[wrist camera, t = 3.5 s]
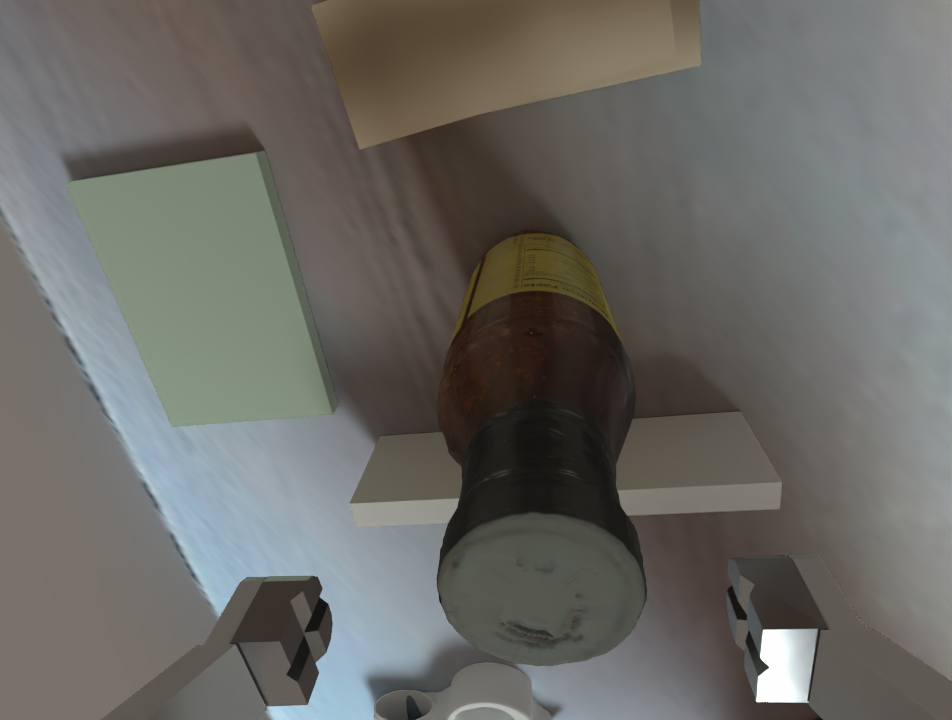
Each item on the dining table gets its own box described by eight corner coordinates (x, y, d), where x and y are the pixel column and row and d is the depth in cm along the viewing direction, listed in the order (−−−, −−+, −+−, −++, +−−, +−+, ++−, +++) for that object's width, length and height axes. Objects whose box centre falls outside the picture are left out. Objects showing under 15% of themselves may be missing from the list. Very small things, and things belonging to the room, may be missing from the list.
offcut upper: (663, 58, 22) (676, 56, 20) (376, 143, 25) (359, 149, 23) (643, -97, 20) (656, -118, 18) (333, 12, 23) (311, 5, 21)
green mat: (338, 405, 33) (332, 414, 32) (181, 417, 35) (171, 426, 34) (264, 150, 27) (255, 152, 26) (80, 179, 29) (65, 182, 28)
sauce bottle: (535, 365, 31) (522, 757, 13) (447, 287, 29) (298, 609, 12) (629, 280, 28) (774, 625, 10) (537, 190, 27) (525, 413, 9)
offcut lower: (687, 66, 24) (701, 65, 22) (376, 135, 27) (361, 140, 25) (680, -76, 22) (695, -92, 20) (344, 13, 25) (324, 7, 23)
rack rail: (739, 434, 31) (779, 509, 26) (385, 457, 34) (356, 527, 29) (740, 411, 31) (782, 482, 25) (380, 436, 34) (349, 503, 29)
